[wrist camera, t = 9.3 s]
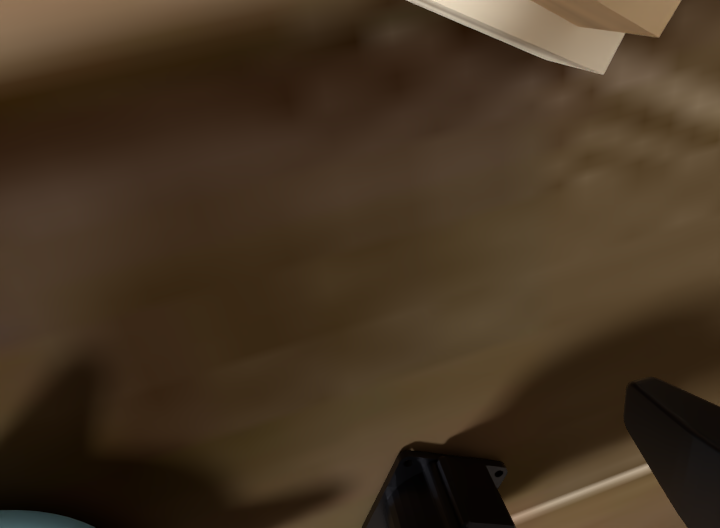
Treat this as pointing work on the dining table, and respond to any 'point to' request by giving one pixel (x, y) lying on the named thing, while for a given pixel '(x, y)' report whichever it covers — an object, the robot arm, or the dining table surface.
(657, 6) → the oak top block
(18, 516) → the teapot
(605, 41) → the birch base block
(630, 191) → the dining table surface
